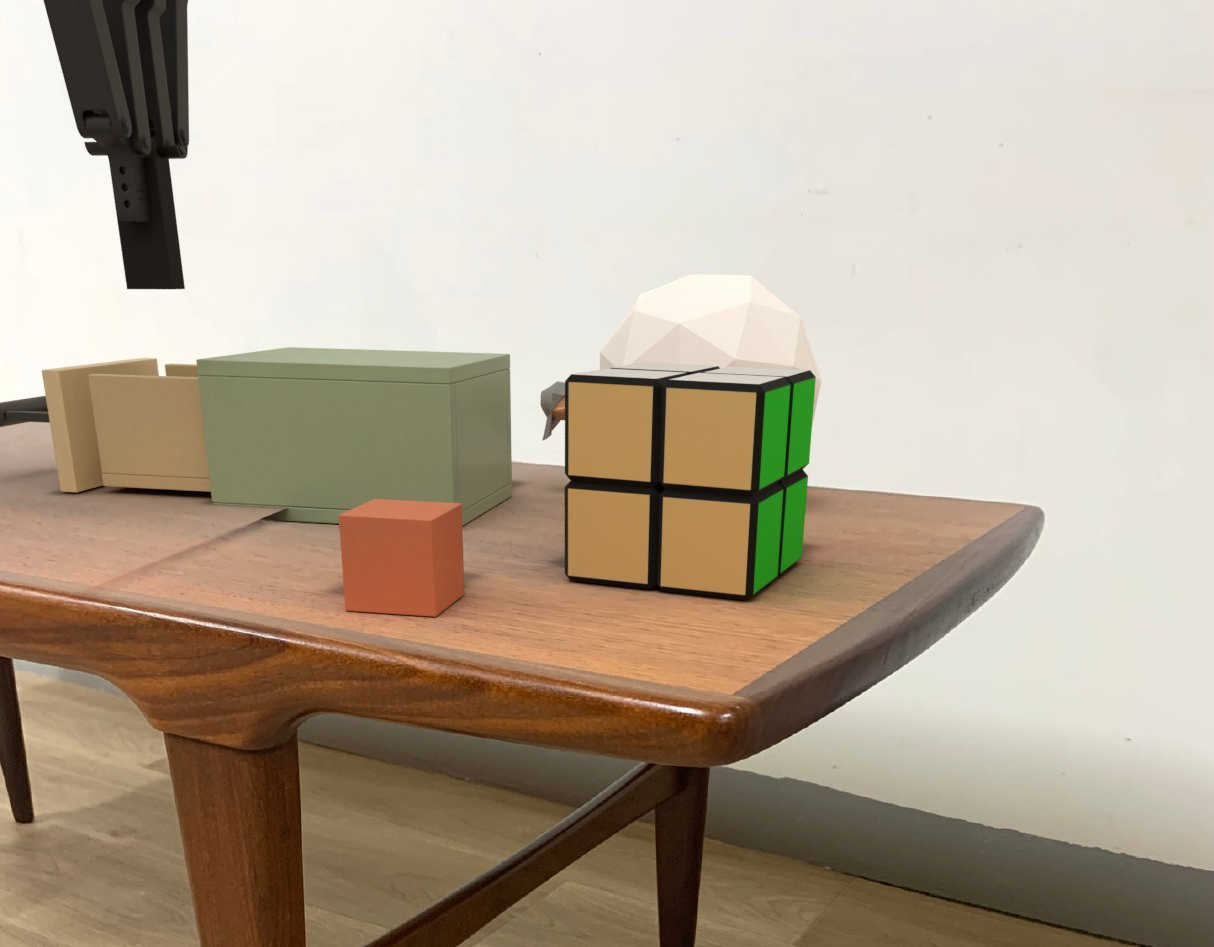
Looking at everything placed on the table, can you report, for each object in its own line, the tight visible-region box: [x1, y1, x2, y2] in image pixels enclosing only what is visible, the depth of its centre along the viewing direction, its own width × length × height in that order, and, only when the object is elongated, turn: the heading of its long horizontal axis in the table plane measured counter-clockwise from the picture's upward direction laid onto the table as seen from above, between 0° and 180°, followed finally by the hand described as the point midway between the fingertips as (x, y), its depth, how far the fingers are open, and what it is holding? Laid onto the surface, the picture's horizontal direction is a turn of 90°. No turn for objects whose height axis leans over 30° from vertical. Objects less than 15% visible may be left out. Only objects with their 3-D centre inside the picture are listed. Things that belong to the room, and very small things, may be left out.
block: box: [338, 499, 466, 618], centre depth 58 cm, size 4×4×4 cm
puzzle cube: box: [564, 363, 816, 601], centre depth 64 cm, size 10×10×10 cm
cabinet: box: [195, 346, 513, 527], centre depth 80 cm, size 16×13×9 cm
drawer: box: [0, 357, 211, 494], centre depth 83 cm, size 21×12×7 cm, turn 78°
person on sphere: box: [540, 273, 822, 441], centre depth 84 cm, size 14×15×20 cm
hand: (156, 288), depth 70 cm, fingers closed
